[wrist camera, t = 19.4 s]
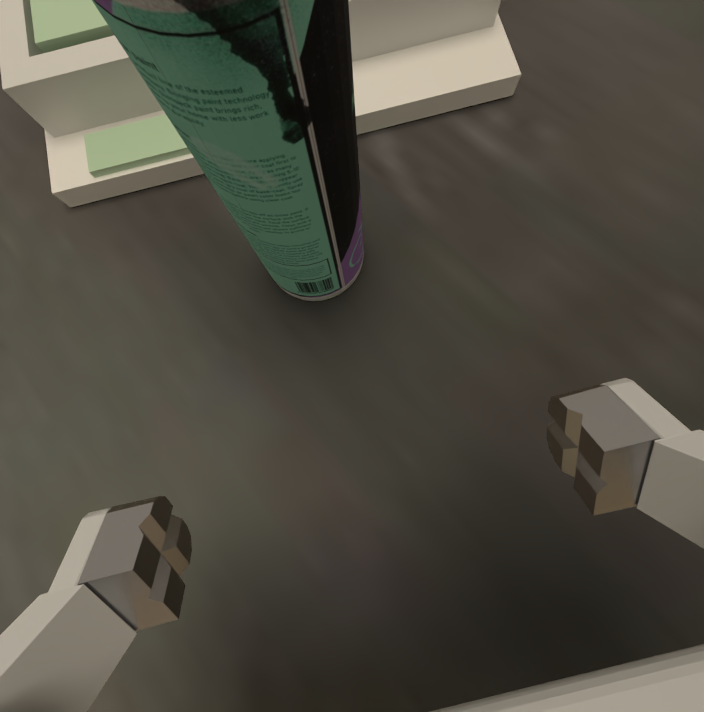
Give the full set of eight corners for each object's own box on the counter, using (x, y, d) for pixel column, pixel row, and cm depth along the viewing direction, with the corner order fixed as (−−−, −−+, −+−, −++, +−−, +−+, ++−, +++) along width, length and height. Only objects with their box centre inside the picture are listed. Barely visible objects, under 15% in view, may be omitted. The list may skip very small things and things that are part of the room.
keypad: (446, -84, 28) (461, -194, 23) (512, 95, 25) (546, 13, 21) (46, 18, 28) (-23, -70, 23) (70, 207, 26) (-2, 152, 21)
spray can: (384, 257, 24) (425, -560, 4) (309, 321, 23) (-27, -266, 4) (321, 192, 25) (118, -724, 5) (248, 252, 24) (-274, -502, 5)
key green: (166, -10, 26) (134, -78, 23) (182, 72, 25) (151, 13, 22) (70, 15, 26) (24, -49, 23) (81, 97, 25) (34, 43, 22)
